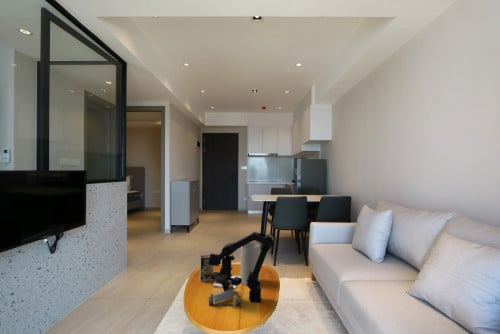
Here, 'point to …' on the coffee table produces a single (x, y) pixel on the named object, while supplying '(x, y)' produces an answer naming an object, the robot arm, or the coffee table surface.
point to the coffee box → (205, 268)
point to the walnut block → (231, 287)
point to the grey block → (223, 295)
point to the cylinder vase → (248, 260)
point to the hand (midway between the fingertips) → (225, 292)
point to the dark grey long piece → (237, 303)
